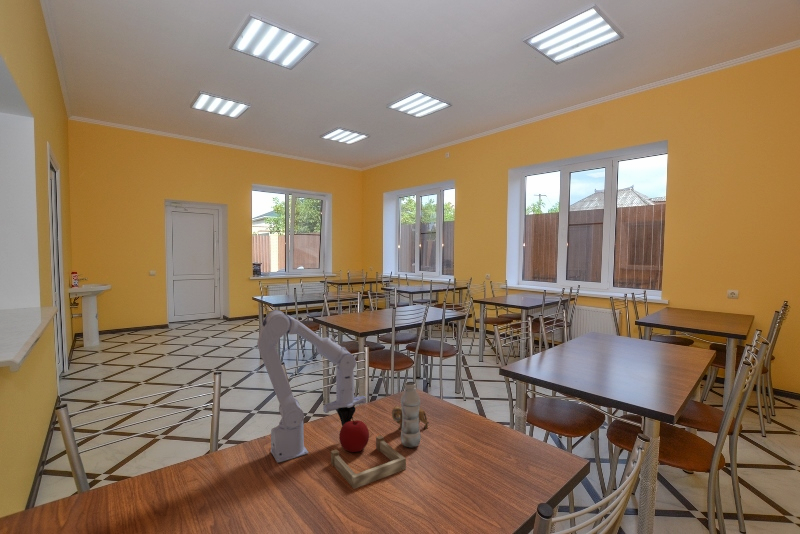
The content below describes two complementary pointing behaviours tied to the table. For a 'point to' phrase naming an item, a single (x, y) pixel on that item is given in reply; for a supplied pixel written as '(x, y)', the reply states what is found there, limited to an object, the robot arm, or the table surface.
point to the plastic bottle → (410, 416)
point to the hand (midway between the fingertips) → (345, 428)
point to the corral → (374, 473)
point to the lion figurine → (398, 416)
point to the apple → (354, 436)
